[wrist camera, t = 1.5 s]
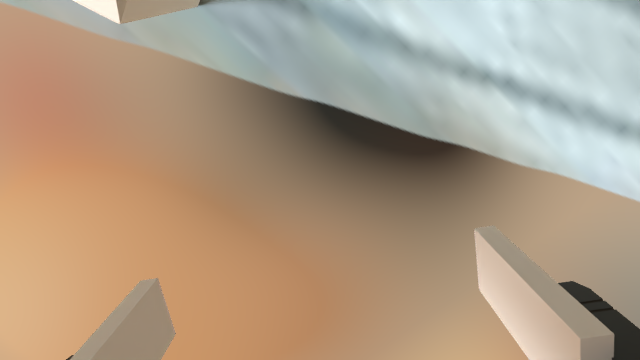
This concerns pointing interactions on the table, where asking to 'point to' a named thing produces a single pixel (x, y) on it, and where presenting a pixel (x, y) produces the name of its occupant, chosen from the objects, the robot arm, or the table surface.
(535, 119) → the table surface
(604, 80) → the table surface
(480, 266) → the robot arm
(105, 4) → the milk carton
